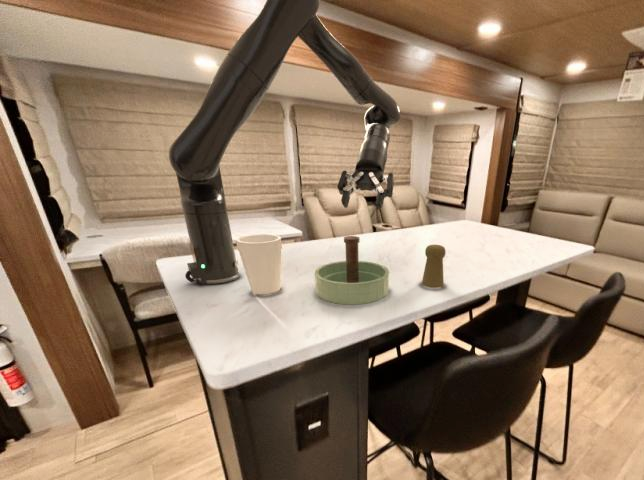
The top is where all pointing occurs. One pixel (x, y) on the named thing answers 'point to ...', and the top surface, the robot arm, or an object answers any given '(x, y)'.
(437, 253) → the cork
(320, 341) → the top surface
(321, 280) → the bowl
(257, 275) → the foam cup
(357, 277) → the rod
